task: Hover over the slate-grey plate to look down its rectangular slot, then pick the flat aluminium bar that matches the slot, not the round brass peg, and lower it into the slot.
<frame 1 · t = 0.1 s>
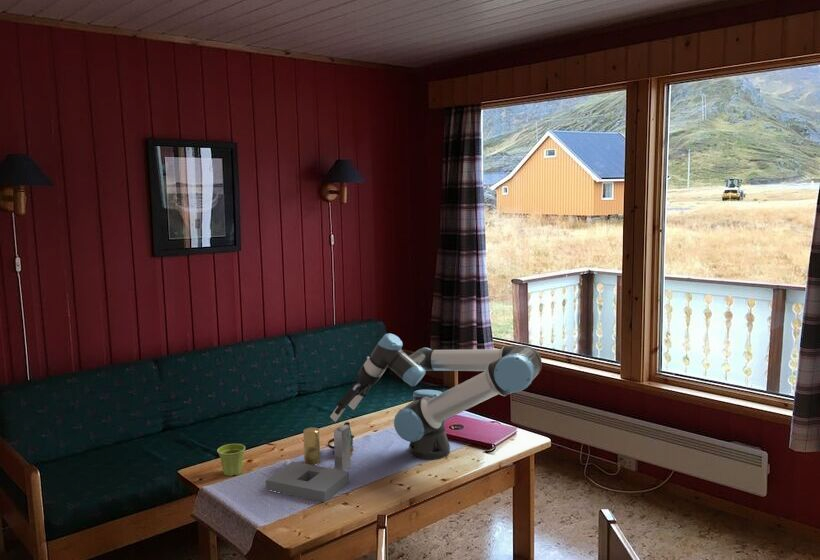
hand: (342, 413, 249), 15 cm above the table, tool tilted 35°, fingers open, 13 cm apart
slot plate: (308, 486, 224), on the table
aluminium bar: (342, 469, 237), on the table
plant pot: (232, 473, 236), on the table
brass peg: (312, 462, 243), on the table
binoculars: (341, 453, 252), on the table
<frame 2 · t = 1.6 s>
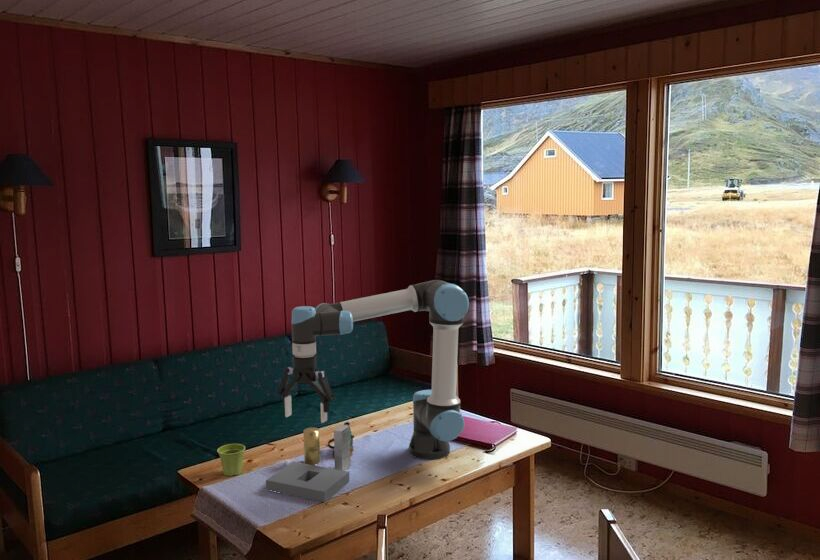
hand: (306, 418, 222), 23 cm above the table, tool pointing down, fingers open, 13 cm apart
nothing on the table moved.
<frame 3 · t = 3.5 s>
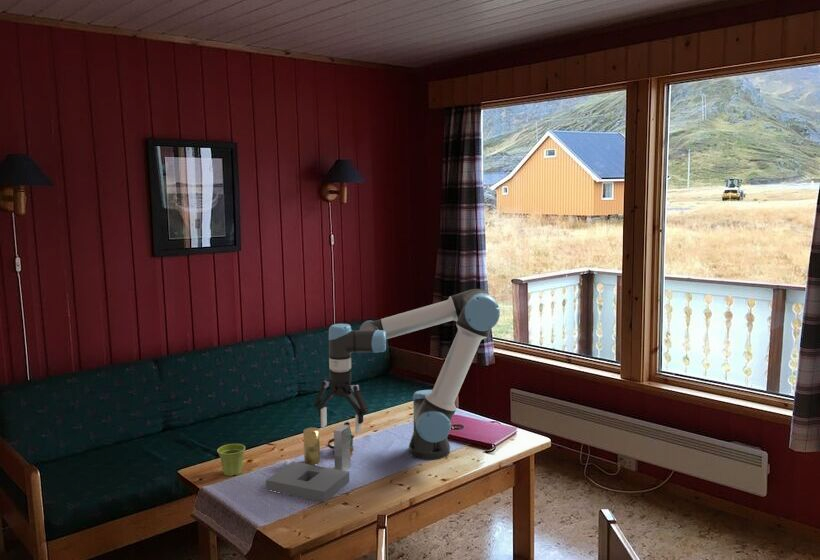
hand: (340, 429, 235), 15 cm above the table, tool pointing down, fingers open, 13 cm apart
nothing on the table moved.
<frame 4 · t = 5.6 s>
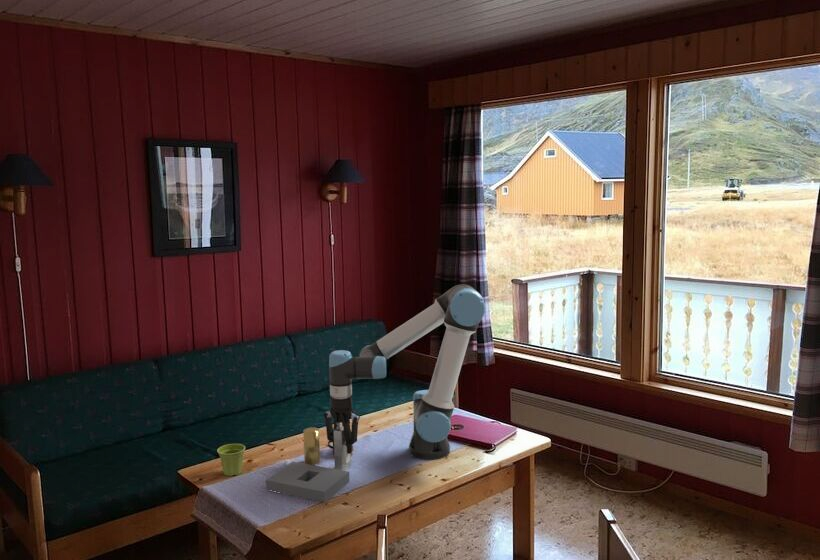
hand: (342, 460, 237), 3 cm above the table, tool pointing down, fingers closed on aluminium bar, 3 cm apart
aluminium bar: (342, 469, 237), on the table, touching gripper
everything else where it was.
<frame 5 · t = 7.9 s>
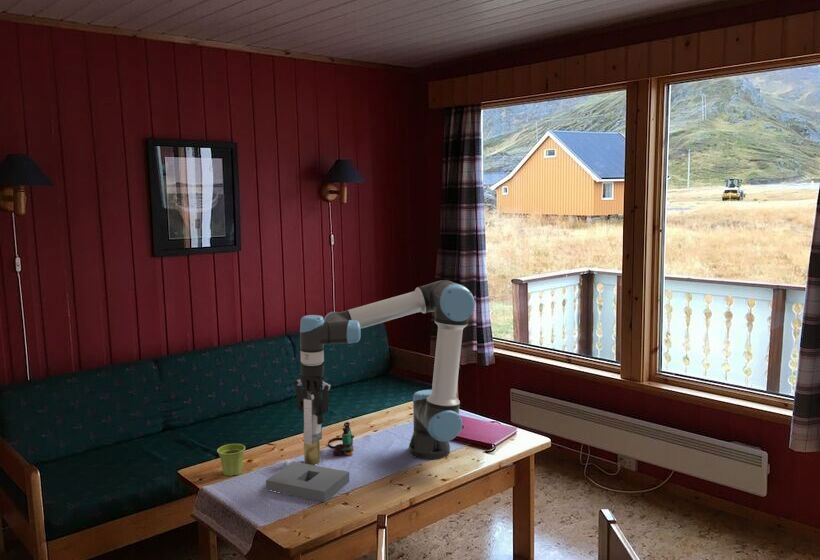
hand: (312, 432, 225), 17 cm above the table, tool pointing down, fingers closed on aluminium bar, 3 cm apart
aluminium bar: (313, 440, 225), point 14 cm above the table, touching gripper
everything else where it was.
when the fingers open (5 cm above the table, at t = 10.5 s): aluminium bar drops 2 cm, resting in slot plate.
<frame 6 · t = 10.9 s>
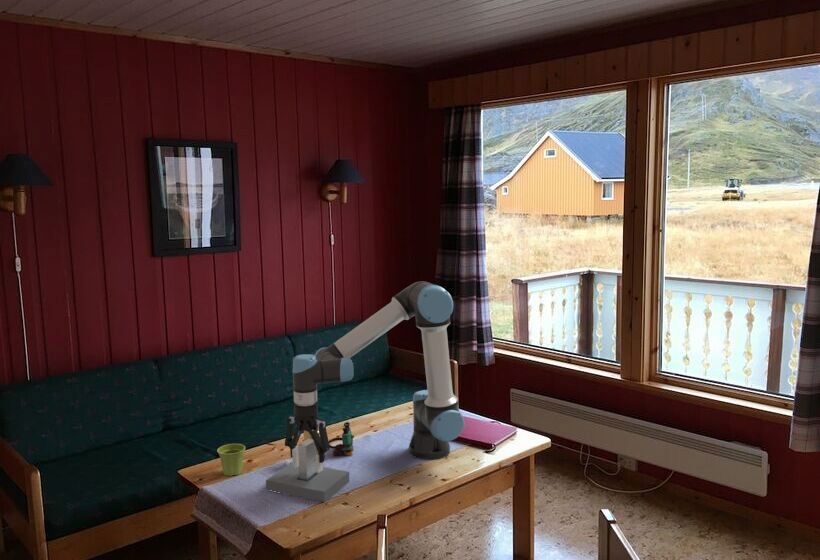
hand: (307, 469, 224), 6 cm above the table, tool pointing down, fingers open, 8 cm apart
aluminium bar: (308, 486, 224), resting in slot plate
everything else where it was.
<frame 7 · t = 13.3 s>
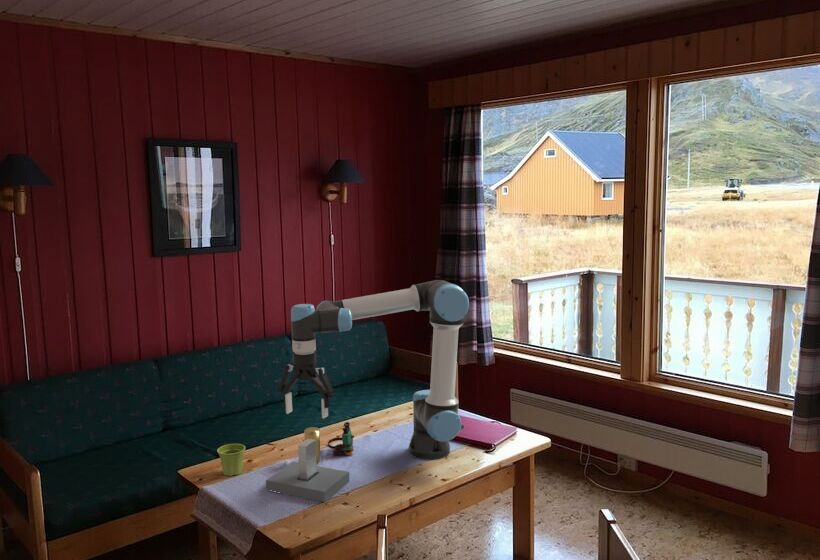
hand: (307, 414, 224), 23 cm above the table, tool pointing down, fingers open, 13 cm apart
nothing on the table moved.
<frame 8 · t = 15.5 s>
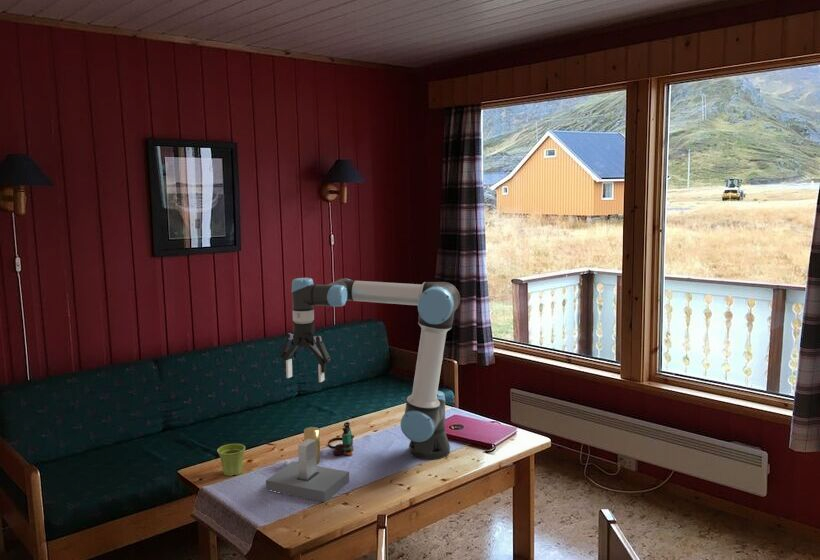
hand: (305, 379, 246), 29 cm above the table, tool pointing down, fingers open, 13 cm apart
nothing on the table moved.
at the end: aluminium bar 0.0 cm off-centre on the slot plate, point 0.0 cm above the slot plate's base; aluminium bar tilted 0°; the gripper is holding nothing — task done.
